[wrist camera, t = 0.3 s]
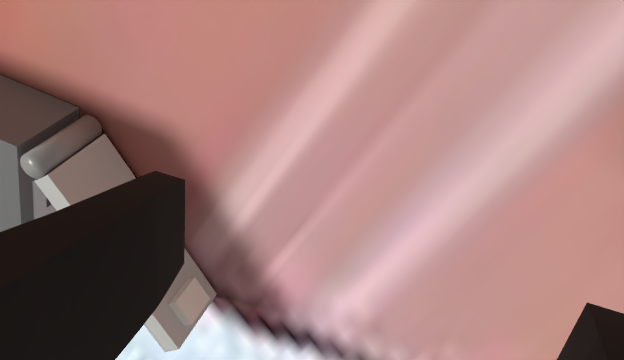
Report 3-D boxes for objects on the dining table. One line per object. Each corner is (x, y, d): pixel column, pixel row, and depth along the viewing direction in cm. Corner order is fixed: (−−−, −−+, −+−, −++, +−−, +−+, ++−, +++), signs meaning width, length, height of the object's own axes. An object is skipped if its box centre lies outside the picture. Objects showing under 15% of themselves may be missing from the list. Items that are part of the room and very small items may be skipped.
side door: (224, 292, 26) (186, 347, 24) (202, 298, 27) (163, 352, 24) (97, 108, 23) (37, 147, 21) (75, 119, 24) (15, 159, 21)
